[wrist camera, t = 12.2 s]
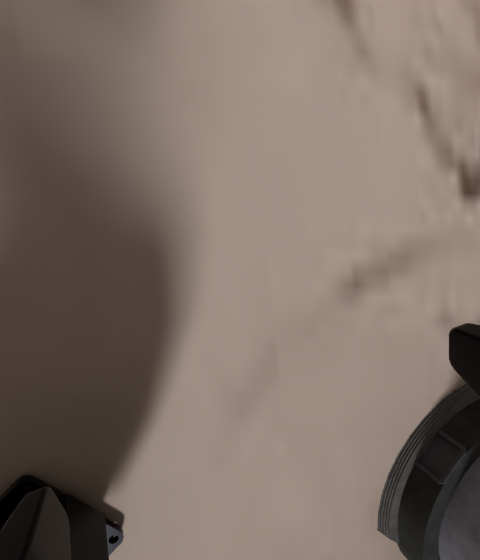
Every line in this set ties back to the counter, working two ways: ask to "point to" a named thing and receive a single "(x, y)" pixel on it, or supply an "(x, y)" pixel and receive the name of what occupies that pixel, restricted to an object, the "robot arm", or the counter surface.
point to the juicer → (437, 484)
